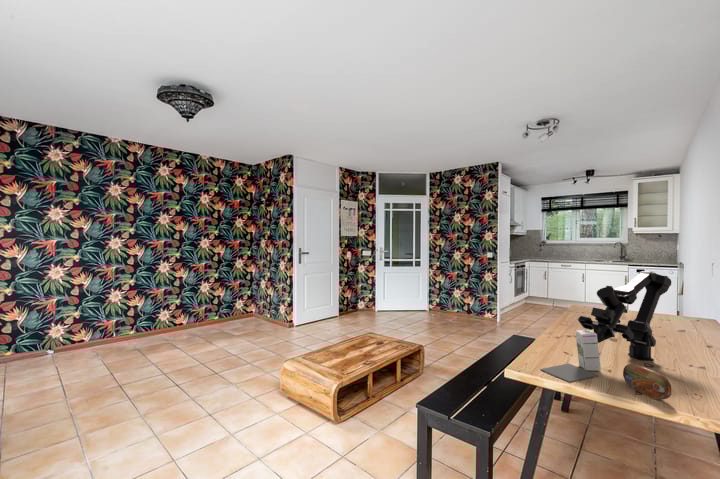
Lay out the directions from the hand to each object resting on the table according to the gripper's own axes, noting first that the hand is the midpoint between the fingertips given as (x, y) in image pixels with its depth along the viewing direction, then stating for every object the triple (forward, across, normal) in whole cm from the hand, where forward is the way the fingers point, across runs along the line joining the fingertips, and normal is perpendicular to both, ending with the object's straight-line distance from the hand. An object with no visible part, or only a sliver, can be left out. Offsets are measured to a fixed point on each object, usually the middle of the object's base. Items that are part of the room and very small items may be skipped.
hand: (594, 343), depth 131 cm
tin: (+12, +21, +3) cm, 24 cm away
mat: (+17, 0, -3) cm, 18 cm away
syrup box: (+9, 0, +5) cm, 10 cm away
